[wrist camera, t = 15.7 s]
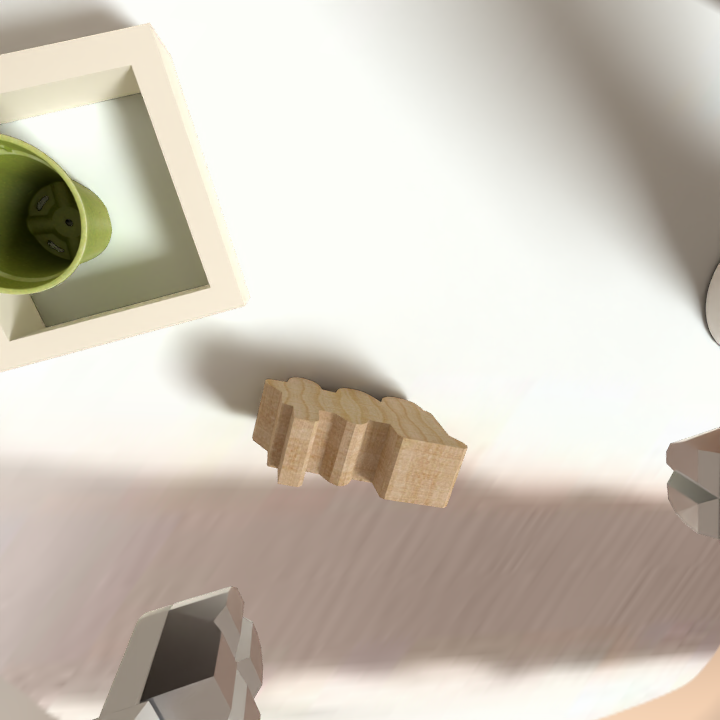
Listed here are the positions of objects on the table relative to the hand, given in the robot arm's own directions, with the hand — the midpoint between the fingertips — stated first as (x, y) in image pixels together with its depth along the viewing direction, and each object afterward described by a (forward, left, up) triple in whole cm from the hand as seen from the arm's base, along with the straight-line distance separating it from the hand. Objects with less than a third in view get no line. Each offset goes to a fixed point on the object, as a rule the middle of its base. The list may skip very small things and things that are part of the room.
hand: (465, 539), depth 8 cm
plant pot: (+18, -11, -33) cm, 39 cm away
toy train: (+1, +12, -33) cm, 36 cm away
